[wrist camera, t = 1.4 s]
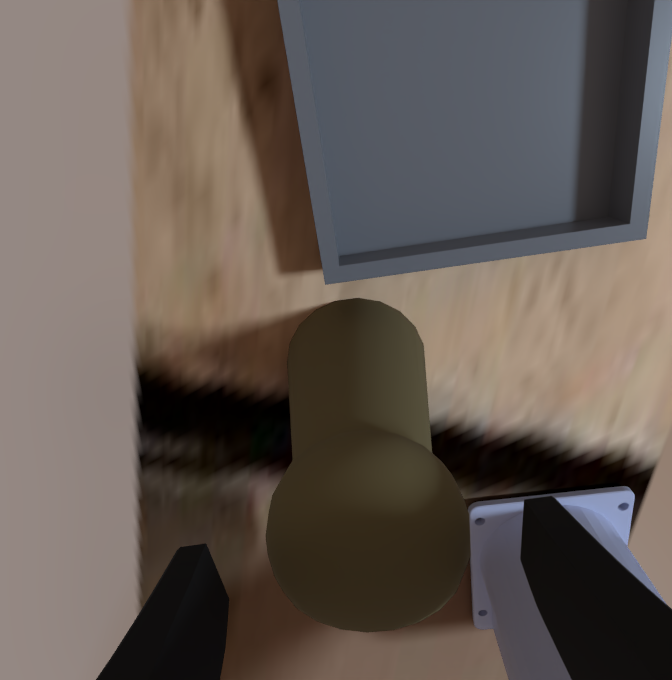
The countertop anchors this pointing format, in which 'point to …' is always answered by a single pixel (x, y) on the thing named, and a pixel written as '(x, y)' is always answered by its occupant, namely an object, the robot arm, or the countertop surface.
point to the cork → (364, 477)
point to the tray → (475, 126)
